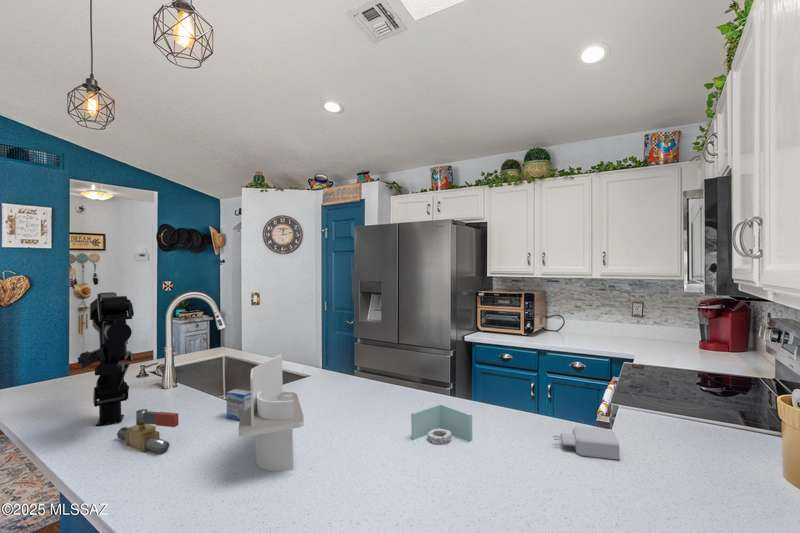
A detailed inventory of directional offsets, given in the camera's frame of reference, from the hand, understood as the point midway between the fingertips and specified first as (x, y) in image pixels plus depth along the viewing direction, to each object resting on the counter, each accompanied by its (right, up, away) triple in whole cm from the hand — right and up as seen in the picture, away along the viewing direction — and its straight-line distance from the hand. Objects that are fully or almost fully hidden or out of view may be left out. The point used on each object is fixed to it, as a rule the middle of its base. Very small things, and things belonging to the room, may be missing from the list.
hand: (115, 391), depth 117 cm
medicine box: (+32, -13, +12) cm, 37 cm away
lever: (+17, -7, -8) cm, 20 cm away
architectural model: (+51, -13, -13) cm, 54 cm away
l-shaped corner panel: (+96, -12, -6) cm, 97 cm away
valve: (+12, -13, -7) cm, 19 cm away
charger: (+133, -12, -13) cm, 134 cm away
